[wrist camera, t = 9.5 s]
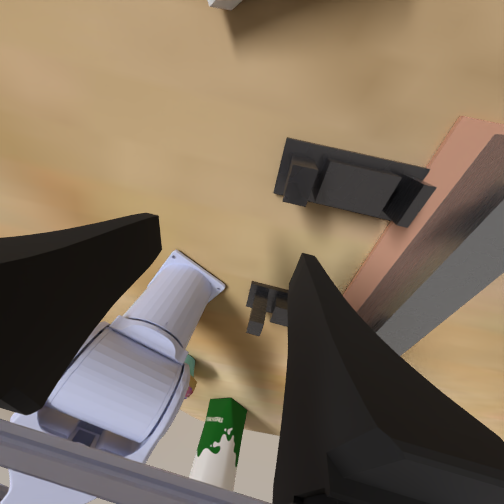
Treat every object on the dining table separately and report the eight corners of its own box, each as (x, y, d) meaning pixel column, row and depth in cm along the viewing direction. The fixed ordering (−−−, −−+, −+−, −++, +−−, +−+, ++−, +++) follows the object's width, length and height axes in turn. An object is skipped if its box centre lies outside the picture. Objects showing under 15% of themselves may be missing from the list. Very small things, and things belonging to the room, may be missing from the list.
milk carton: (226, 412, 53) (196, 540, 37) (205, 397, 50) (161, 531, 34) (252, 411, 50) (231, 554, 33) (231, 395, 46) (197, 545, 30)
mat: (376, 353, 28) (377, 356, 28) (315, 336, 29) (315, 339, 28) (600, 145, 13) (608, 145, 12) (459, 116, 13) (463, 116, 13)
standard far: (324, 323, 27) (329, 360, 23) (246, 303, 27) (238, 335, 23) (338, 303, 24) (346, 340, 20) (252, 281, 25) (243, 312, 21)
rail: (361, 349, 28) (370, 380, 24) (333, 342, 28) (338, 371, 25) (557, 147, 13) (648, 156, 9) (494, 133, 13) (562, 138, 10)
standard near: (393, 219, 17) (423, 249, 13) (273, 191, 18) (267, 212, 14) (426, 168, 15) (476, 185, 11) (286, 137, 15) (284, 143, 11)
